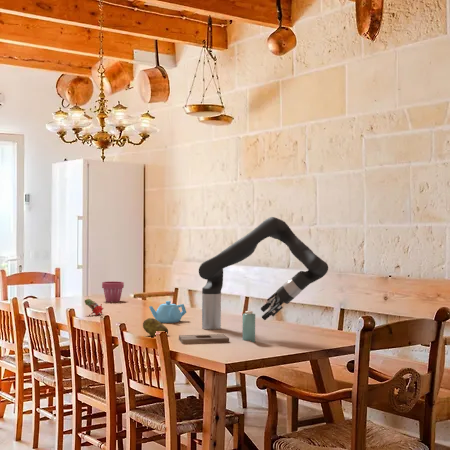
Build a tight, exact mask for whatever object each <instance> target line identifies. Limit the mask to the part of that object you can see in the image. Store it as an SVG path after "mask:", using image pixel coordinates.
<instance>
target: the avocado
mask: <svg viewBox="0 0 450 450" xmlns="http://www.w3.org/2000/svg"><path fill="white" fill-rule="evenodd" d="M142 328H143V331H145V332H146V333H147V334H149V336H150V337H153V338H154V336H155V333H156V331H165V332H167V335H168V334H169V329H168V327H166V325H164V323H160V322H159V321H157V320H156V319H155V318H154V317H149V318H147V319H144V321H143V323H142ZM155 337H156V336H155Z"/></svg>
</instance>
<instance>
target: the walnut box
mask: <svg viewBox="0 0 450 450" xmlns="http://www.w3.org/2000/svg"><path fill="white" fill-rule="evenodd" d="M178 340H179V341H180V343H181V344H182V345H192V344H194V345H197V344H224V343H230V337H228V336H227V335H226V334H224V333H220V334H219V333H217V334H216V333H215V334H210V333H209V334H182V335H181V334H179V335H178Z"/></svg>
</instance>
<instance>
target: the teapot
mask: <svg viewBox="0 0 450 450" xmlns="http://www.w3.org/2000/svg"><path fill="white" fill-rule="evenodd" d="M171 302H172V301H171V300H165V303H161V304H159V306H158V307H157V310H156V309H155V308H154V307H153V306H151V305H150V306H148V307H149V310H150V312H151V314H152V316H153V319H156V320H157V321H159V322H160V323H162V324H172V323H173V324H174V323H179V322H180V321H181V319H182V318H183V316H185V315H186V314H187V309H186V307H185V304H184V303H182V304H176V303H171ZM180 308H181V310H180Z"/></svg>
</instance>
